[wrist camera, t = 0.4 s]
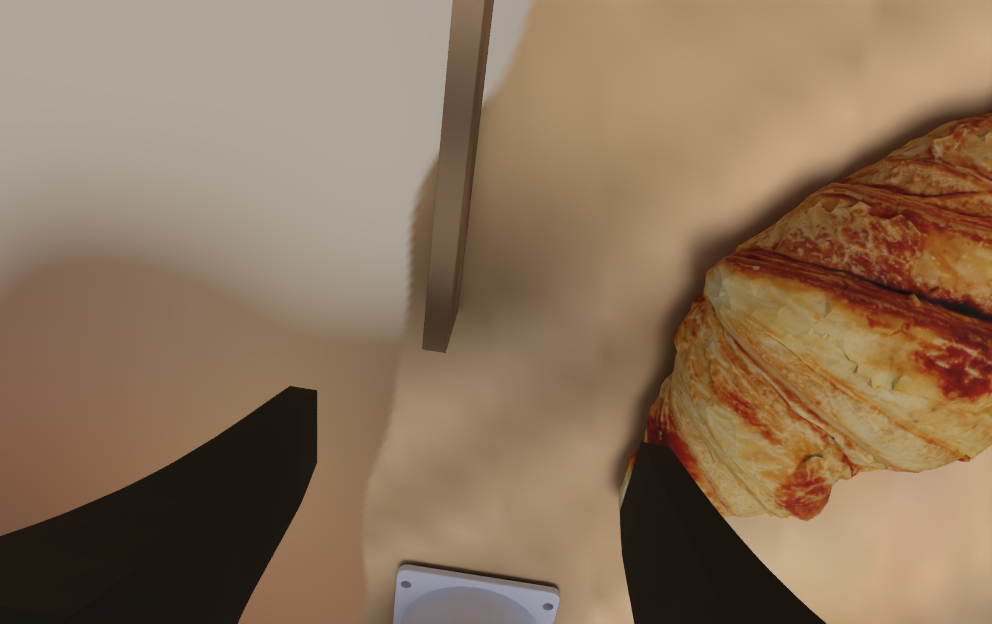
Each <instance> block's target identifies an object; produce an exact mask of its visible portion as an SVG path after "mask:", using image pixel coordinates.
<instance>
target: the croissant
mask: <svg viewBox="0 0 992 624" xmlns="http://www.w3.org/2000/svg"><path fill="white" fill-rule="evenodd" d="M674 343H675V347H676V349H677V351H678V352H677V353H676V355H675V364H674V370H673V373H672V374H671V375H669V376H668V377H667V378H665V380H664V382H663V383H662V385H661V389H660V394H659V397H658V398H657V399H656V400H655V402H654V403H653V404H652V405H651V407H650V411H649V415H648V419H647V426H646V431H645V439H644V442H646V443H653V444H659V445H665V446H669V447H670V448H671V449H672V451H673V452H674V453H675V455H676V456H677V457H678V459H679V460H680V461H681V463H682V464H683V465H684V467H685V468H686V470H687V471H688V472H689V474H690V475H691V476H692V478H693V479H694V480H695V482H696V483H697V484H698V486H699V487H700V488H701V490H702V491H703V492H704V494H705V495H706V496H707V498H708V499H709V500H710V502H711V503H712V504H713V505H714V507H715V508H716V509H717V510H718V512H719V513H720V514H721V515H722V517H723V518H726V517H728V516H732V515H735V516H738V517H750V516H756V515H759V514H763V513H767V514H769V515H770V516H777V517H780V518H788V517H789V516H791V515H792V516H794V517H796V518H798V519H800V520H804V521H808V520H810V519H812V518H813V517H815V516H816V515H817V514H819V513H820V512H821V511H822V510H823V508H824V507H825V505H826V504H827V502H828V499H829V496H830V492H831V489H832V486H833V485H834V484H835V483H836V482H837V481H838V479H845V480H848V479H850V478H852V477H853V476H855V475H856V474H858V473H859V472H868V471H874V470H884V469H887V470H891V471H904V472H914V473H919V472H922V471H925V470H932V469H935V468H938V467H941V466H944V465H946V464H949V463H952V462H954V461H957V460H959V461H963V462H969V461H970V460H972V459H973V458H974V457H976V456H977V455H978V454H980V453H981V452H982V451H984V450H985V449H986V448H988V447H989V446H991V445H992V113H986V114H982V115H977V116H973V117H969V118H964V119H960V120H955V121H951V122H948V123H945V124H943V125H941V126H939V127H937V128H936V129H934V130H933V131H931V132H930V133H928V134H927V135H924V136H921V137H919V138H916V139H913V140H910V141H909V142H908V143H907V144H905V145H904V146H903V147H901V148H899V149H896V150H894V151H893V152H891V153H890V154H889V155H887V156H886V157H885V158H883V159H882V160H880V161H878V162H876V163H875V164H872V165H869V166H866V167H863V168H861V169H859V170H858V171H856V172H854V173H853V174H851V175H849V176H848V177H846V178H844V179H843V180H841V181H839V182H836V183H830V184H828V185H826V186H824V187H822V188H820V189H819V190H817V191H815V192H814V193H812V194H810V195H809V196H808V197H807V198H806V199H805V200H804V201H802V202H801V203H800V204H799V205H798V206H797V207H795V208H794V209H792V210H791V211H790V212H788V213H787V214H786V215H784V216H783V217H782V218H781V219H780V220H779V221H778V222H776V223H775V224H774V225H772V226H770V227H769V228H767V229H765V230H764V231H762V232H761V233H759V234H757V235H756V236H754V237H752V238H751V239H749V240H747V241H746V242H744V243H742V244H741V245H739V246H737V248H736V250H735V252H733V253H731V254H729V255H727V256H725V257H723V258H722V259H721V260H720V261H718V262H717V263H716V264H715V265H714V266H713V267H712V268H710V269H709V270H708V271H707V272H706V281H705V287H704V292H703V293H702V294H701V295H700V296H699V297H698V298H697V299H696V300H695V301H694V302H693V303H692V305H691V308H690V311H689V313H688V314H687V315H686V317H685V318H684V320H683V321H682V323H681V324H680V326H679V329H678V331H677V333H676V336H675V338H674ZM639 448H640V447H638V448H637V449H636V451H635V453H634V454H633V456H632V457H631V459H630V463H629V467H628V469H627V471H626V474H625V477H624V480H623V483H622V486H621V489H620V492H619V511H620V508H621V505H622V502H623V499H624V496H625V492H626V489H627V486H628V483H629V480H630V476H631V473H632V470H633V467H634V464H635V461H636V457H637V454H638V451H639Z"/></svg>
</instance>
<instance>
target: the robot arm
mask: <svg viewBox="0 0 992 624" xmlns="http://www.w3.org/2000/svg"><path fill="white" fill-rule="evenodd" d="M316 464H317V390H311V389H305V388H298V387H292V386H289V387H288V388H286V389H285V390H284V391H282V392H281V393H279V394H278V395H276V396H275V397H273V398H272V399H270V400H269V401H267V402H266V403H265V404H263V405H262V406H260V407H259V408H257V409H256V410H255V411H253V412H252V413H250V414H249V415H247V416H246V417H245V418H243V419H242V420H240V421H239V422H237V423H236V424H234V425H233V426H231V427H230V428H228V429H227V430H225V431H224V432H222V433H221V434H219V435H218V436H216V437H215V438H213V439H211V440H210V441H208V442H207V443H205V444H203V445H202V446H200V447H198V448H197V449H195V450H193V451H192V452H190V453H188V454H187V455H185V456H183V457H182V458H180V459H178V460H177V461H175V462H174V463H171V464H170V465H168V466H166V467H164V468H162V469H160V470H158V471H157V472H155V473H153V474H151V475H149V476H147V477H145V478H143V479H141V480H139V481H137V482H135V483H133V484H131V485H129V486H127V487H125V488H122V489H120V490H118V491H116V492H114V493H111V494H109V495H107V496H104V497H102V498H100V499H97V500H95V501H93V502H90V503H88V504H85V505H83V506H81V507H79V508H76V509H74V510H71V511H69V512H67V513H64V514H62V515H59V516H56V517H53V518H51V519H48V520H45V521H43V522H40V523H38V524H35V525H32V526H29V527H26V528H23V529H20V530H17V531H14V532H11V533H8V534H6V535H3V536H0V624H238V622H239V619H240V617H241V615H242V613H243V610H244V609H245V607H246V604H247V603H248V600H249V599H250V596H251V594H252V593H253V591H254V589H255V587H256V585H257V583H258V581H259V580H260V578H261V576H262V574H263V572H264V571H265V569H266V567H267V565H268V563H269V562H270V560H271V558H272V556H273V554H274V552H275V550H276V548H277V547H278V545H279V543H280V542H281V540H282V538H283V536H284V534H285V532H286V530H287V529H288V527H289V525H290V523H291V521H292V519H293V518H294V516H295V514H296V512H297V510H298V508H299V506H300V504H301V502H302V500H303V497H304V495H305V492H306V490H307V487H308V485H309V482H310V479H311V477H312V474H313V472H314V469H315V466H316ZM620 527H621V545H622V557H623V563H624V569H625V574H626V580H627V586H628V591H629V597H630V602H631V608H632V613H633V619H634V624H826V623H825V622H824V621H823V620H822V619H821V618H819V617H818V616H817V615H816V614H815V613H814V612H812V611H811V610H810V609H809V608H808V607H807V606H806V605H805V604H804V603H803V602H802V601H800V600H799V599H798V598H797V597H796V596H795V595H794V594H793V593H792V592H791V591H790V590H789V589H788V588H787V587H786V586H785V585H784V584H783V583H782V582H781V581H780V580H779V579H778V578H777V577H776V576H775V575H774V574H773V573H772V572H771V571H770V570H769V569H768V568H767V567H766V566H765V565H764V564H763V563H762V562H761V561H760V560H759V559H758V557H757V556H756V555H755V554H754V553H753V552H752V551H751V550H750V548H749V547H748V546H747V545H746V544H745V543H744V542H743V540H742V539H741V538H740V537H739V536H738V535H737V534H736V532H735V531H734V530H733V529H732V528H731V526H730V525H729V524H728V523H727V522H726V520H725V519H724V518H723V517H722V515H721V514H720V513H719V512H718V510H717V509H716V508H715V507H714V505H713V504H712V503H711V502H710V500H709V499H708V498H707V496H706V495H705V494H704V492H703V491H702V490H701V488H700V487H699V486H698V484H697V483H696V482H695V480H694V479H693V478H692V476H691V475H690V474H689V472H688V471H687V470H686V468H685V467H684V465H683V464H682V463H681V461H680V460H679V459H678V457H677V456H676V455H675V453H674V452H673V451H672V449H671V448H670V447H669V446H665V445H659V444H653V443H646V442H641V445H640V448H639V451H638V454H637V457H636V461H635V464H634V467H633V470H632V473H631V476H630V480H629V483H628V486H627V489H626V492H625V496H624V499H623V502H622V505H621V508H620ZM559 602H560V592H559V591H558V590H557V589H556V588H553V587H549V586H543V585H536V584H530V583H524V582H517V581H511V580H504V579H498V578H492V577H485V576H479V575H472V574H466V573H460V572H453V571H447V570H440V569H434V568H428V567H421V566H415V565H402V566H400V567H399V569H398V573H397V579H396V591H395V603H394V615H393V624H554V620H555V617H556V613H557V610H558V606H559Z"/></svg>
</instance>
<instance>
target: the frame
mask: <svg viewBox="0 0 992 624" xmlns="http://www.w3.org/2000/svg"><path fill="white" fill-rule="evenodd" d="M493 3H494V0H453V6H452V17H451V28H450V41H449V51H448V62H447V74H446V85H445V97H444V107H443V119H442V130H441V141H440V153H439V164H438V175H437V187H436V198H435V209H434V220H433V232H432V243H431V254H430V266H429V277H428V288H427V300H426V311H425V322H424V333H423V345H422V349H424V350H431V351H437V352H444V353H446V350H447V346H448V343H449V339H450V336H451V333H452V329H453V326H454V322H455V319H456V315H457V312H458V303H459V295H460V286H461V277H462V269H463V260H464V252H465V243H466V235H467V226H468V217H469V209H470V200H471V192H472V183H473V175H474V166H475V158H476V149H477V140H478V132H479V123H480V115H481V106H482V98H483V89H484V80H485V72H486V63H487V55H488V46H489V37H490V29H491V20H492V12H493Z"/></svg>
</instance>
